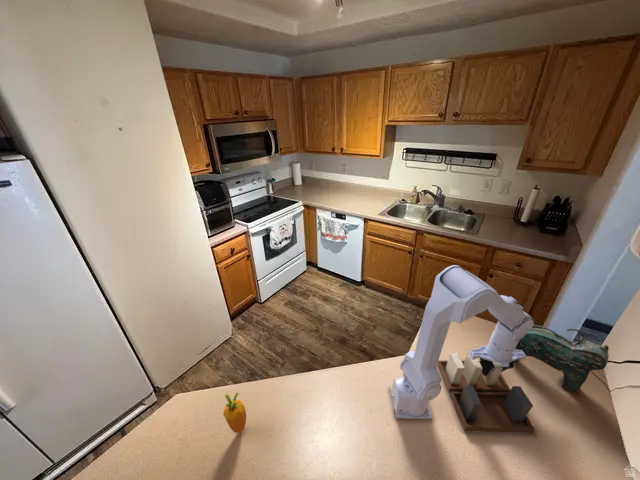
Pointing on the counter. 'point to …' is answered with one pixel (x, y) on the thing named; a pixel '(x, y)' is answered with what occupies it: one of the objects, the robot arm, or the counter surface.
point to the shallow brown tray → (479, 386)
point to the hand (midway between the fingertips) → (488, 372)
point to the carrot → (235, 414)
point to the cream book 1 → (454, 368)
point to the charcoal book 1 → (469, 403)
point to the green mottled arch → (564, 354)
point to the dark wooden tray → (491, 415)
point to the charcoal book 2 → (517, 404)
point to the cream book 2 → (471, 370)
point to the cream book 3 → (493, 374)
